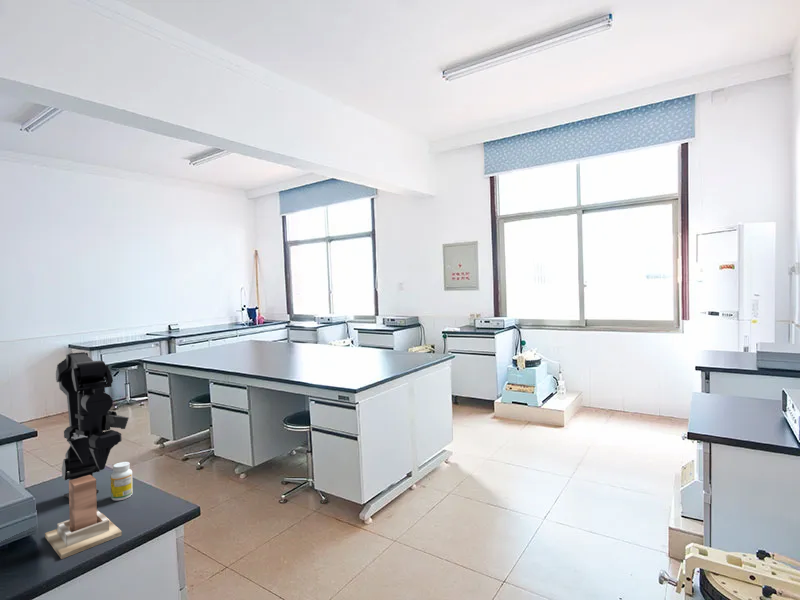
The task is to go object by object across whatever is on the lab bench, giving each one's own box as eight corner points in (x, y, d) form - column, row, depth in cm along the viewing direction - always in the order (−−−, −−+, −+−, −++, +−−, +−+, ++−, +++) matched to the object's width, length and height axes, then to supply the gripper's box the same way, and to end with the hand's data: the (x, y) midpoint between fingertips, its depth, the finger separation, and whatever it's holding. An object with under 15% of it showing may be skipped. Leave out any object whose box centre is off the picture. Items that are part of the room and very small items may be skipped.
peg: (69, 533, 105) (68, 480, 104) (91, 525, 108) (90, 474, 108) (75, 539, 102) (74, 485, 102) (97, 531, 105) (96, 479, 105)
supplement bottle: (129, 499, 124) (129, 466, 123) (108, 502, 122) (107, 469, 122) (135, 491, 129) (134, 459, 129) (114, 493, 127) (114, 461, 127)
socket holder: (45, 537, 105) (44, 522, 105) (102, 516, 114) (102, 503, 114) (61, 559, 96) (61, 543, 96) (121, 535, 105) (121, 521, 105)
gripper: (141, 405, 117) (143, 462, 117) (107, 398, 127) (108, 450, 127) (95, 415, 107) (97, 477, 108) (62, 407, 117) (64, 464, 117)
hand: (93, 466), depth 115 cm, fingers open, 9 cm apart
